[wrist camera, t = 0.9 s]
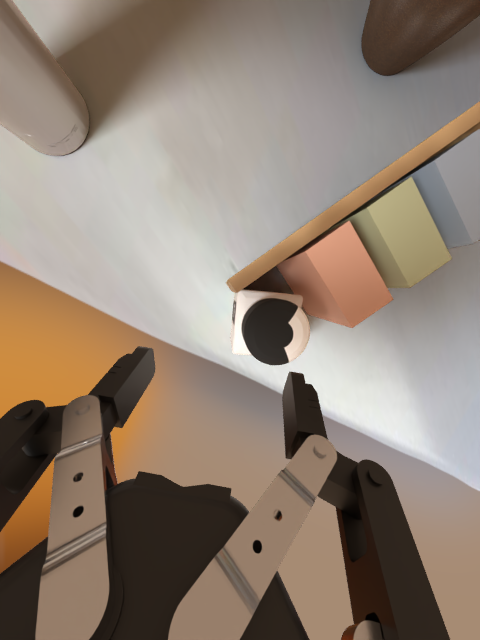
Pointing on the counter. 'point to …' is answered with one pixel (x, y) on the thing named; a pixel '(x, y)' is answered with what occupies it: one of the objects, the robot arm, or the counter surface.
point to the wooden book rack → (360, 196)
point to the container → (269, 326)
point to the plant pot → (411, 30)
